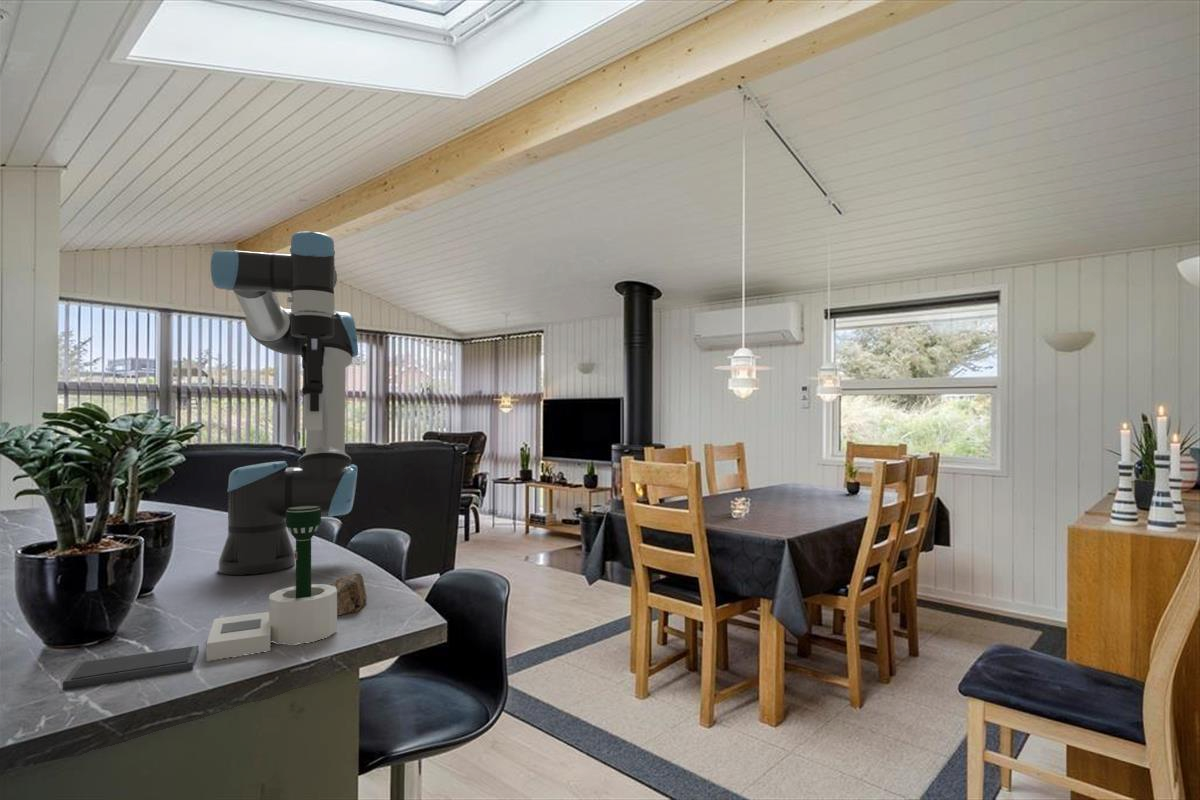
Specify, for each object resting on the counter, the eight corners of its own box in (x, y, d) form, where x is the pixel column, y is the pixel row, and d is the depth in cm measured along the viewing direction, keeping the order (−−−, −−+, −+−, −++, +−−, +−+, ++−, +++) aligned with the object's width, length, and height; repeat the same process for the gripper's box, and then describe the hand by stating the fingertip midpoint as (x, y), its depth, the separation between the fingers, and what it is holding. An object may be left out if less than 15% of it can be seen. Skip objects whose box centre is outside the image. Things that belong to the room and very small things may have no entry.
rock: (368, 614, 112) (368, 581, 112) (303, 621, 108) (303, 587, 108) (364, 591, 126) (364, 561, 126) (307, 597, 122) (307, 566, 123)
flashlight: (280, 633, 102) (280, 507, 102) (313, 626, 105) (313, 503, 106) (292, 642, 98) (292, 510, 98) (326, 633, 102) (326, 506, 102)
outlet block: (214, 634, 102) (214, 593, 102) (333, 618, 109) (333, 579, 109) (206, 661, 91) (206, 615, 91) (339, 641, 98) (339, 598, 99)
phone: (78, 669, 88) (78, 661, 88) (198, 652, 94) (198, 644, 94) (62, 689, 82) (62, 681, 82) (192, 669, 88) (192, 661, 88)
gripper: (289, 323, 131) (289, 427, 130) (291, 305, 108) (291, 431, 108) (329, 325, 134) (329, 427, 134) (339, 308, 112) (339, 430, 111)
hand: (312, 429), depth 121 cm, fingers open, 13 cm apart
